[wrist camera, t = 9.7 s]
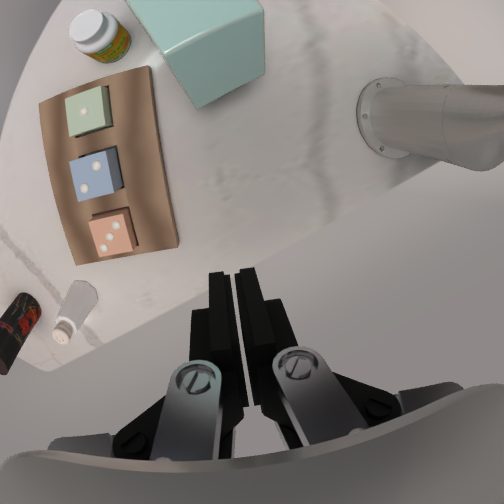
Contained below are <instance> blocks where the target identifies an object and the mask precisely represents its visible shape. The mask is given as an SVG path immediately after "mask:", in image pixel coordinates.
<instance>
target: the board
mask: <svg viewBox="0 0 504 504" xmlns="http://www.w3.org/2000/svg"><path fill="white" fill-rule="evenodd" d="M98 86H103V87H106V88H109V92H110V101H111V109H112V117H113V124H114V127H111V128H107V129H104V130H101V131H97V132H94V133H91V134H88V135H85V136H82V137H81V135H79V136H72V137H69V130H68V123H67V115H66V106H65V99H66V98H68V97H71V96H73V95H76V94H79V93H81V92H84V91H87V90H90V89H92V88H95V87H98ZM39 113H40V122H41V130H42V137H43V144H44V150H45V155H46V161H47V166H48V171H49V176H50V180H51V184H52V189H53V193H54V197H55V201H56V205H57V208H58V212H59V215H60V219H61V222H62V226H63V229H64V232H65V235H66V238H67V241H68V244H69V247H70V250H71V253H72V256H73V259H74V261H75V264H76V266H77V265H82V264H87V263H93V262H98V261H104V260H109V259H115V258H120V257H126V256H131V255H137V254H143V253H149V252H154V251H160V250H166V249H172V248H178V245H179V239H178V234H177V230H176V225H175V220H174V215H173V210H172V205H171V200H170V195H169V190H168V184H167V179H166V173H165V167H164V161H163V155H162V149H161V143H160V136H159V129H158V122H157V115H156V107H155V99H154V90H153V81H152V71H151V68H150V67H149V66H148V65H147V66H143V67H139V68H135V69H132V70H128V71H124V72H121V73H117V74H114V75H111V76H108V77H104V78H101V79H98V80H95V81H92V82H90V83H87V84H84V85H81V86H79V87H76V88H74V89H71V90H68V91H66V92H64V93H61V94H59V95H57V96H54V97H52V98H50V99H48V100H45V101H43V102H41V103H39ZM115 145H117V150H118V155H119V161H120V166H121V171H122V176H123V181H124V186H122V187H121V188H119V189H118V190H117V191H116V192H114V193H111V194H107V195H103V196H99V197H95V198H91V199H87V200H84V201H80V202H78V199H77V195H76V191H75V187H74V183H73V178H72V174H71V169H70V164H69V162H70V161H73V160H76V159H79V158H82V157H85V155H84V154H88V153H91V152H94V151H98V150H101V149H105V148H108V147H112V146H115ZM127 206H129V208H130V212H131V217H132V221H133V225H134V228H135V232H136V236H137V240H138V242H137V244H136V246H135V248H134V250H133V251H131V252H125V253H120V254H114V255H109V256H103V257H99V255H98V252H97V249H96V246H95V243H94V240H93V236H92V233H91V230H90V226H89V223H88V221H90V220H91V219H92V218H93V217H94V216H95V215H96V214H97V213H100V212H104V211H109V210H113V209H117V208H122V207H127Z"/></svg>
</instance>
